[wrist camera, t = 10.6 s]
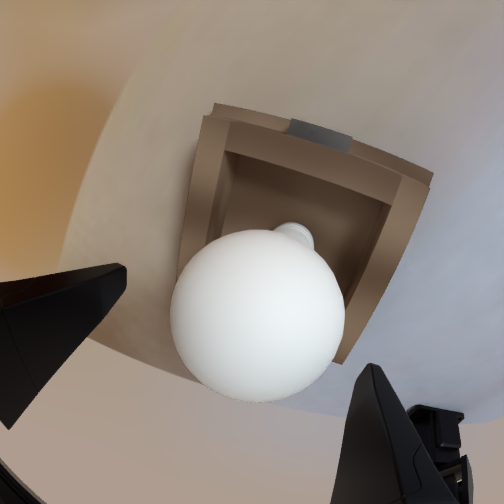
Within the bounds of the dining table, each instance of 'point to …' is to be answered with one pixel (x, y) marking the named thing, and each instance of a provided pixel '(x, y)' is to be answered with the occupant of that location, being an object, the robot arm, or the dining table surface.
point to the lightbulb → (257, 314)
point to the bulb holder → (306, 199)
